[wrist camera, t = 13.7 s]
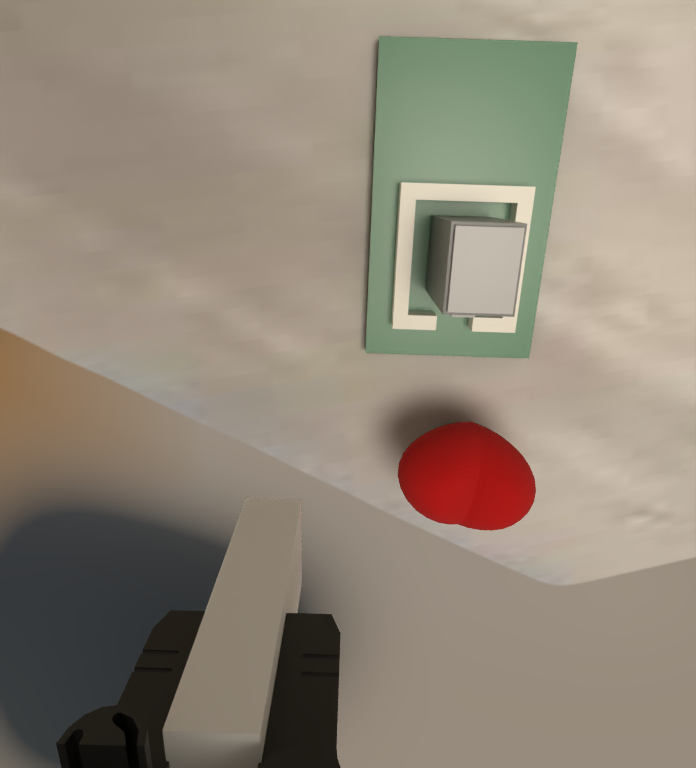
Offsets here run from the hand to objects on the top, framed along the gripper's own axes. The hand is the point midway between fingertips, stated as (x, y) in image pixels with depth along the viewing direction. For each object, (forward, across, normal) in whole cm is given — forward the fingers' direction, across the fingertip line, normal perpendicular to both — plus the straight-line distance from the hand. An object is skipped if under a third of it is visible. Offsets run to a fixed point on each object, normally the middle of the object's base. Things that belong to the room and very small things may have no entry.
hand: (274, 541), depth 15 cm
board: (+26, +9, +8) cm, 29 cm away
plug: (+25, +9, +5) cm, 27 cm away
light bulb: (+27, +10, -9) cm, 30 cm away
